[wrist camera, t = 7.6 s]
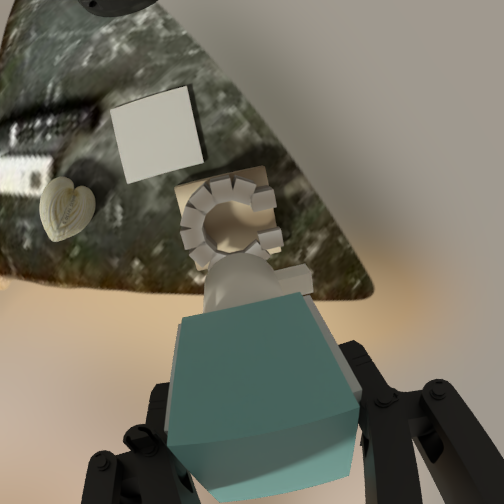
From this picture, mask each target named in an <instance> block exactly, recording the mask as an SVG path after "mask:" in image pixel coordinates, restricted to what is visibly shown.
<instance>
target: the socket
mask: <svg viewBox="0 0 504 504" xmlns="http://www.w3.org/2000/svg"><path fill="white" fill-rule="evenodd" d="M174 189H175V193H176V196H177V200H178V204H179V208H180V211H181V215H182V220H181V223H180V225H181V226H182V228H181V231H180V233H181V236H182V240H183V243H184V247H185V250H187V249H190V252H189V256H190V257H191V258H192V259H193V260H194V261H195V264H196V267H197V270H198V271H200V270H204V269H208V271H209V270H210V269H211V267H212V266H213V265H214V264H215V263H216V262H217V261H219V260H220V259H222V258H223V257H226V256H228V255H231V254H236V253H249V254H253V255H256V256H258V257H260V258H262V259H264V260H265V261H266V260H267V259H268V258H269V257H271V256H270V254H273V253H277V252H281V248H280V246H284V244H283V238H282V233H281V229H280V227H279V226H278V227H277V226H276V221H275V215H274V210H273V208H275V207H277V205H276V200H275V194H274V189H272V188H271V187H270V186H269V184H268V179H267V174H266V168H265V166H258V167H253V168H248V169H244V170H239V171H235V172H230V173H226V174H221V175H217V176H213V177H209V178H205V179H201V180H197V181H193V182H189V183H185V184H181V185H177V186H176V187H175V188H174Z"/></svg>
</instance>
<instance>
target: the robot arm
mask: <svg viewBox="0 0 504 504" xmlns="http://www.w3.org/2000/svg"><path fill="white" fill-rule="evenodd" d="M78 1H79V3H80V4H81V5H82V6H83V7H84V8H85V9H86V10H87V11H88V12H90V13H92V14H94V15H97V16H101V17H117V16H123V15H127V14H131V13H134V12H136V11H139V10H141V9H144V8H146V7H148V6H150V5H151V4H153V3H155V2H156V1H158V0H78ZM303 298H304V300H305V302H306V304H307V306H308V307H309V309H310V311H311V313H312V315H313V317H314V319H315V321H316V323H317V324H318V326H319V328H320V330H321V332H322V334H323V336H324V338H325V340H326V342H327V344H328V345H329V347H330V349H331V351H332V353H333V355H334V357H335V359H336V361H337V363H338V365H339V367H340V369H341V371H342V373H343V375H344V377H345V379H346V381H347V382H348V384H349V386H350V388H351V390H352V392H353V394H354V396H355V398H356V400H357V402H358V404H359V406H360V409H359V418H358V424H359V426H360V428H361V430H362V436H361V442H360V446H362V450H363V462H364V478H365V497H366V504H423V503H422V495H421V487H420V481H419V475H418V469H417V463H416V458H415V453H414V447H413V442H412V439H413V441H414V443H415V445H416V447H417V448H418V450H419V452H420V454H421V456H422V458H423V460H424V462H425V464H426V466H427V468H428V470H429V472H430V474H431V476H432V478H433V480H434V482H435V484H436V486H437V488H438V490H439V492H440V494H441V496H442V498H443V500H444V502H445V504H504V459H503V457H502V456H501V454H500V453H499V451H498V450H497V448H496V446H495V445H494V443H493V442H492V440H491V439H490V437H489V436H488V434H487V433H486V431H485V430H484V429H483V427H482V426H481V424H480V423H479V421H478V420H477V418H476V417H475V416H474V414H473V413H472V411H471V410H470V409H469V407H468V406H467V405H466V403H465V402H464V400H463V399H462V398H461V396H460V395H459V394H458V392H457V391H456V390H455V388H454V387H453V386H452V385H451V384H450V383H449V382H448V381H445V380H443V379H435V380H431V381H429V382H428V383H426V385H425V386H424V388H423V390H418V391H412V392H400V391H397V390H396V389H395V388H391V387H390V386H389V385H388V384H387V383H386V381H385V380H384V378H383V376H382V375H381V373H380V372H379V370H378V369H377V367H376V366H375V364H374V362H372V359H371V358H370V356H369V355H368V353H367V352H366V350H365V348H364V347H363V346H362V345H361V344H359V343H358V342H356V341H355V340H352V341H349V342H346V343H343V344H340V345H337V343H336V341H335V339H334V337H333V335H332V334H331V332H330V330H329V328H328V327H327V325H326V323H325V321H324V320H323V318H322V316H321V314H320V313H319V311H318V309H317V307H316V306H315V304H314V302H313V300H312V299H311V297H310V295H308V296H304V297H303ZM180 330H181V324H179V325H178V331H177V337H176V343H175V350H174V356H173V363H172V370H171V378H170V382H168V383H160V384H156V386H155V387H154V389H153V390H152V392H151V395H150V400H149V402H150V403H149V406H148V412H147V417H146V424H139V425H135V426H133V427H131V428H130V429H129V430H128V431H127V432H126V433H125V435H124V438H123V443H124V444H125V445H127V447H128V448H129V449H130V450H131V451H129V452H126V453H122V454H119V455H114V454H113V453H111V452H110V451H106V450H104V451H99V452H97V453H95V454H94V455H93V456H92V457H91V459H90V461H89V464H88V469H87V474H86V479H85V484H84V489H83V495H82V501H81V504H201V503H200V500H199V497H198V494H197V491H196V489H195V486H194V483H193V480H192V477H191V474H190V472H189V471H188V470H187V469H186V468H185V467H184V465H183V464H182V463H181V462H180V461H179V460H178V459H177V457H176V456H175V455H174V454H173V453H172V452H171V450H170V449H169V448H168V447H167V438H168V427H169V417H170V407H171V398H172V390H173V381H174V373H175V365H176V358H177V351H178V344H179V337H180ZM357 428H358V425H357Z"/></svg>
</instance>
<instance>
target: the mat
mask: <svg viewBox="0 0 504 504" xmlns="http://www.w3.org/2000/svg"><path fill="white" fill-rule="evenodd" d="M110 111H111V116H112V121H113V126H114V131H115V135H116V140H117V144H118V149H119V153H120V157H121V161H122V165H123V169H124V173H125V177H126V180H127V184H129V183H132V182H136V181H139V180H142V179H145V178H149V177H152V176H156V175H159V174H163V173H166V172H170V171H173V170H177V169H181V168H185V167H188V166H192V165H196V164H200V163H204V161H203V156H202V152H201V148H200V143H199V139H198V134H197V130H196V125H195V121H194V116H193V112H192V107H191V103H190V98H189V93H188V89H187V86H184V87H181V88H177V89H173V90H169V91H166V92H163V93H159V94H156V95H153V96H149V97H146V98H143V99H140V100H137V101H134V102H131V103H128V104H125V105H123V106H120V107H117V108H114V109H112V110H110Z"/></svg>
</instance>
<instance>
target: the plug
mask: <svg viewBox="0 0 504 504" xmlns="http://www.w3.org/2000/svg"><path fill="white" fill-rule="evenodd" d="M312 292H313V284H312V275H311V272H310V270H309V269H308V267H307V266H306V265H305V264H302V265H298V266H293V267H289V268H285V269H281V270H276V271H274V270H273V269H272V267H271V266H270V265H269V263H267V262H266V261H265V260H264V259H262V258H260V257H258V256H256V255H253V254H249V253H236V254H231V255H228V256H226V257H223V258H222V259H220V260H219V261H217V262H216V263H215V264H214V265H213V266H212V267H211V269H210V270H209V272H208V274H207V276H206V279H205V287H204V305H203V314H199V315H193V316H189V317H183V318H182V323H181V330H180V337H179V344H178V351H177V358H176V365H175V373H174V381H173V390H172V398H171V407H170V417H169V427H168V438H167V447H168V448H169V449H170V450H171V452H172V453H173V454H174V455H175V456H176V457H177V459H178V460H179V461H180V462H181V463H182V464H183V465H184V467H185V468H186V469H187V470H188V471H189V472H190V473H191V474H192V475H193V476H194V477H195V478H196V479H197V480H198V482H199V483H200V484H201V485H202V486H203V487H204V488H205V489H207V491H208V492H209V493H210V494H212V496H213V497H214V498H215V499H216V500H218V501H219V502H230V501H240V500H247V499H254V498H261V497H267V496H272V495H278V494H283V493H288V492H292V491H297V490H301V489H305V488H309V487H313V486H316V485H320V484H324V483H327V482H330V481H334V480H337V479H340V478H343V477H346V476H349V473H350V468H351V463H352V457H353V451H354V445H355V439H356V432H357V425H358V418H359V409H360V406H359V404H358V402H357V400H356V398H355V396H354V394H353V392H352V390H351V388H350V386H349V384H348V382H347V381H346V379H345V377H344V375H343V373H342V371H341V369H340V367H339V365H338V363H337V361H336V359H335V357H334V355H333V353H332V351H331V349H330V347H329V345H328V344H327V342H326V340H325V338H324V336H323V334H322V332H321V330H320V328H319V326H318V324H317V323H316V321H315V319H314V317H313V315H312V313H311V311H310V309H309V307H308V306H307V304H306V302H305V300H304V298H303V296H302V295H304V294H308V293H312Z"/></svg>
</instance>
